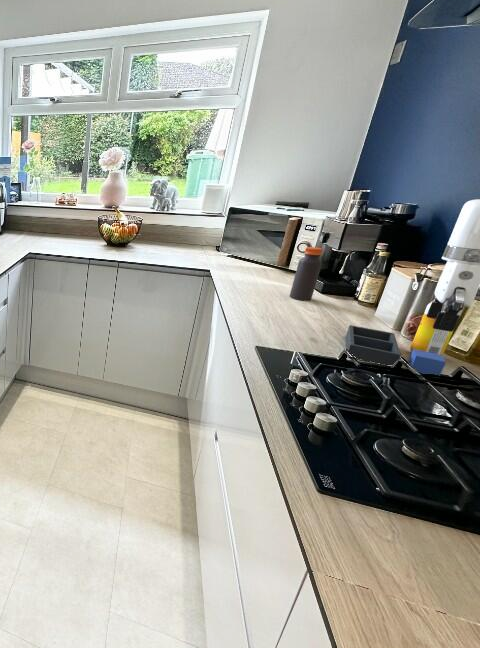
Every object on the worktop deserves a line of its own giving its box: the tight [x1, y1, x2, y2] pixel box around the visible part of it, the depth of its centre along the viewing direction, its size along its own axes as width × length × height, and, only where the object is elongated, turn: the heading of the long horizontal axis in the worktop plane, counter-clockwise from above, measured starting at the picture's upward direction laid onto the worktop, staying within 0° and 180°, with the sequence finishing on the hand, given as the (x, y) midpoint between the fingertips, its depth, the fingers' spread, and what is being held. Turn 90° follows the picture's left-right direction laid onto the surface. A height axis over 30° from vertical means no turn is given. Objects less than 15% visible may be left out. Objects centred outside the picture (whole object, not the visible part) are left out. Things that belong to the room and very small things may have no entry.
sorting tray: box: [345, 324, 401, 366], centre depth 112 cm, size 10×18×4 cm, turn 138°
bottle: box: [289, 246, 323, 301], centre depth 154 cm, size 7×7×20 cm
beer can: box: [409, 300, 463, 356], centre depth 108 cm, size 6×6×15 cm
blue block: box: [407, 349, 447, 376], centre depth 100 cm, size 5×5×5 cm
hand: (438, 323), depth 97 cm, fingers open, 9 cm apart
